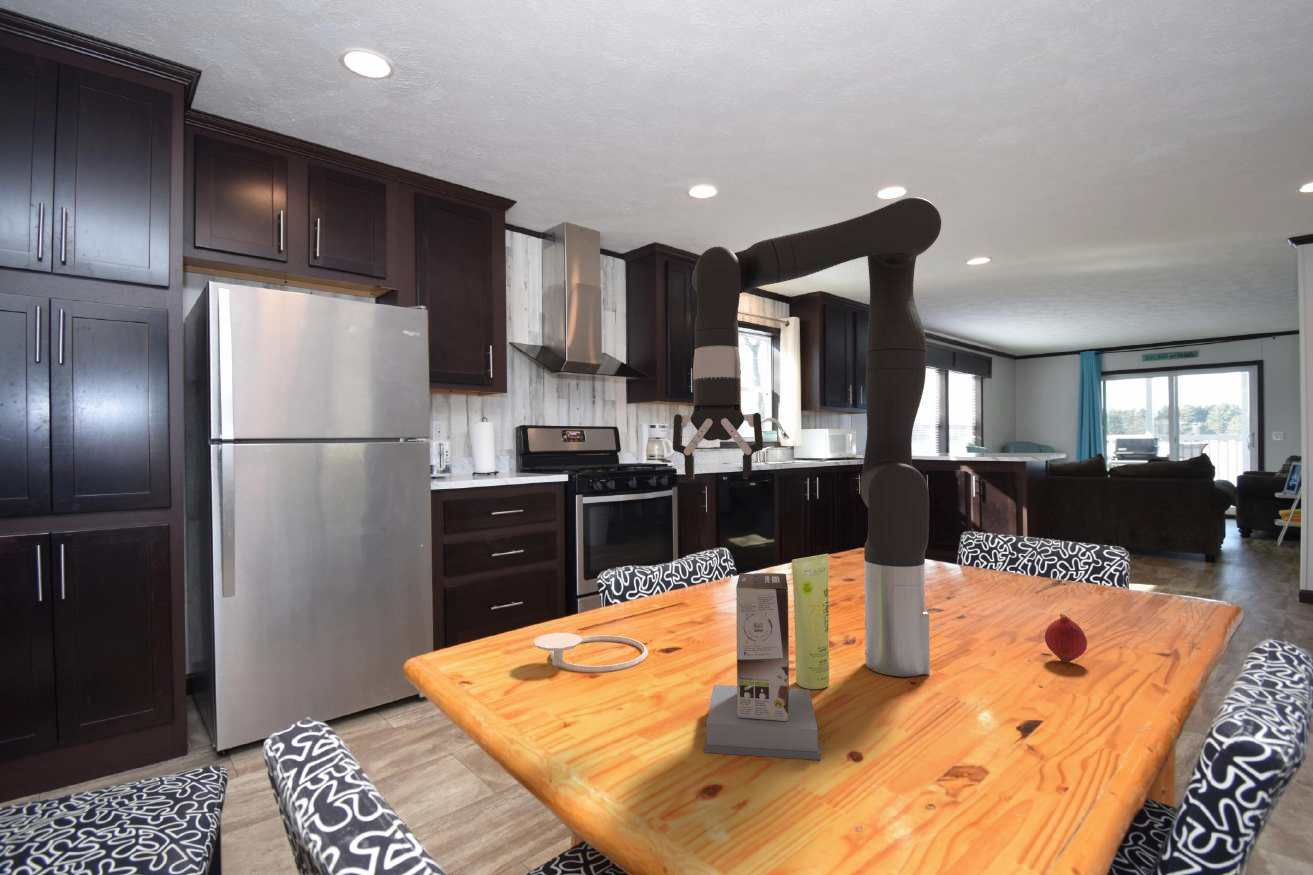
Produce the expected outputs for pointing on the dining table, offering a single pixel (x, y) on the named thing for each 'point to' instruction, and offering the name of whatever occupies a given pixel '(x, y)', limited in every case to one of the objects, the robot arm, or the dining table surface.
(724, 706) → the plate
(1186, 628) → the dining table surface
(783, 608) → the coffee box
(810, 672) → the tube
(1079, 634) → the onion
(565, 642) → the hand towel holder
